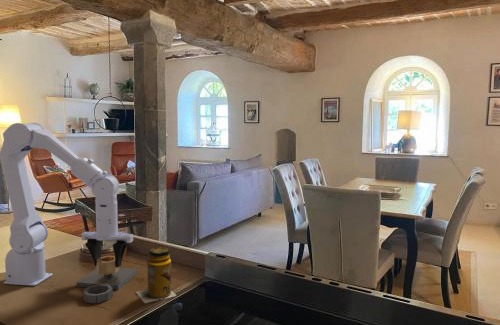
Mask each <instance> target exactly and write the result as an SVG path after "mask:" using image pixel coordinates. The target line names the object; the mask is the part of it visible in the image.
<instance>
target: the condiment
mask: <svg viewBox="0 0 500 325" xmlns="http://www.w3.org/2000/svg"><path fill="white" fill-rule="evenodd" d="M170 254H171V253H170V249H169V248H168V247H163V246H159V247H153V248H151V249H149V252H148V260H147V262H146V263H147V289H145V290H140V291H135V292H136V295H137V296H138V298H140V300H141V301H142V302H143V303H144V304H148V303H152V302H157V301H160V300H165V299H169V298H173V297H176V296H177V294H176V293H175V292H174V291H172V260H171V258H170ZM161 298H162V299H161ZM159 299H160V300H159Z"/></svg>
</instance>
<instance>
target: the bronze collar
mask: <svg viewBox="0 0 500 325" xmlns="http://www.w3.org/2000/svg"><path fill="white" fill-rule="evenodd" d="M96 265H97V266H96V268H97V272H98V274H103V275H108V274H112V273H116V272H117V271H118V270H119V268H120V266H119V267H116V266H115V255H105V256H101V257H100V258H99V259H97V260H96Z"/></svg>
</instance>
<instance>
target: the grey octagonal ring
mask: <svg viewBox="0 0 500 325" xmlns="http://www.w3.org/2000/svg"><path fill="white" fill-rule="evenodd" d="M113 291H114V289H113V288H112V287H111V286H110V285H106V284H98V285H93V286H89V287H85V289H83V291H82V293H83V294H82V295H83V297H82V298H83V300H84V302H85V303H88V304H99V303H103V302H107V301H109V300H110V299H111V298H112V297H113V296H114V294H113V293H114V292H113ZM100 292H102V293H100Z"/></svg>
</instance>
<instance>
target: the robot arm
mask: <svg viewBox="0 0 500 325" xmlns="http://www.w3.org/2000/svg"><path fill="white" fill-rule="evenodd" d="M2 137H3V142H2V146H1V148H0V164H1V168H2V171H3V176H4V180H5V183H6V189H7V193H8V198H9V202H10V205H11V210H12V215H13V220H12V222H11V224H10V226H9V232H10V236H9V239H8V242H9V246H10V248H11V249H10V250H9V251H8V252H7V253H6V255H5V259H4V264H5V265H4V266H5V281H3V284H5V285H20V286H29V287H35V286H37V285H39V284H40V283H42V282H43V281H46V280H47V279H49V278H51V277H52V276H53V275H54V274H53V273H51V272H46V255H45V254H46V252H45V250H46V249H45V241H46V240H47V238H48V236H49V229H48V227H47V225H45V223H44V221H43V218H42V216H40V214H38V213H37V211H36V206H35V202H34V198H33V192H32V190H31V189H32V188H31V184H30V178H29V174H28V171H27V166H26V162H25V158H26V157H27V155H28V154H29V153H31V151H32V150H33V149H42V150H46V151H48V152H49V153H51V154H52V155H53V156H54V157H56V158H58V159H59V160H60V161H62V162H63V163H65V164H66V165H68V167H70V173H71V175H73V176H74V177H75V178H77V179H78V180H79V181H81V182H82V183H84V185H86V186H87V187H88V188H89V189H91V193H92V194H93V196H94V197H95V228H96V229H95V230H96V231H84V232H82V233H81V235H80V236H81V241H87V242H86V243H85V247H86V249H88V252H89V254H90V255H91V258H92V260H93V264H94V266H95V267H97V265H96V260H97V259H99V258H100V257H102V243H103V242H104V241H105V242H115V243H113V244H112V247H113V252H114V256H115V266H116V267H119V268H120V267H121V266H122V263H123V262H122V261H123V258H124V254H125V251H126V249H127V247H128V245H129V244H131V243H132V242H134V234H133V233H131V234H130V233H126V232H125V233H124V232H120V231H119V225H118V224H119V222H118V221H119V219H118V215H119V214H118V197H117V196H118V195H117V192H118V191H119V188H120V181H119V180H118V179H117V177H116V176H115V175H113V174H111V173H110V174H108V171H107V170H103V169H101V167H99V166H98V165H97V164H95V160H94V159H92V158H87V157H79V156H78V155H77V154H76V153H75V152H73V150H71V149H70V148H69V147H68V146H66V145H65V144H64V143H63V142H62V141H61V140H60V139H58V138H57V136H55V135H54V134H53V133H52V131H50V130H49V129H47V128H45V127H44V126H43V125H42V124H40V123H37V122H30V123H20V122H16V123H12V124H11V125H9V126H8V128H6V129H5V131H4V132H2Z"/></svg>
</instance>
